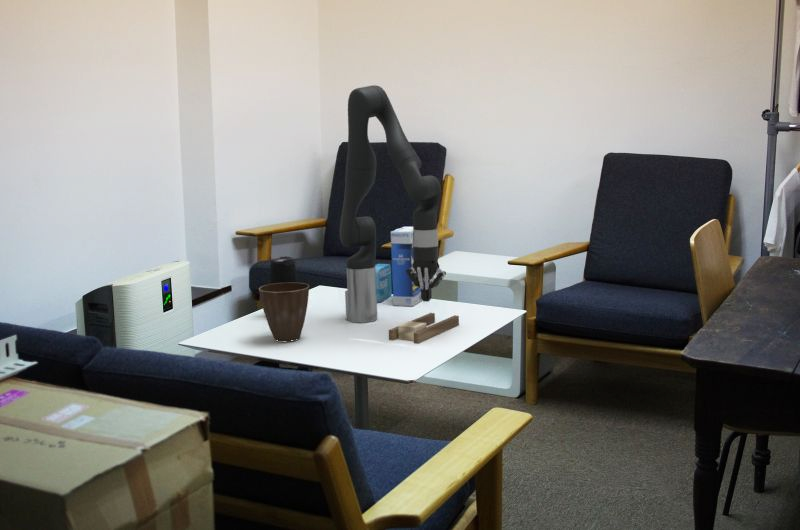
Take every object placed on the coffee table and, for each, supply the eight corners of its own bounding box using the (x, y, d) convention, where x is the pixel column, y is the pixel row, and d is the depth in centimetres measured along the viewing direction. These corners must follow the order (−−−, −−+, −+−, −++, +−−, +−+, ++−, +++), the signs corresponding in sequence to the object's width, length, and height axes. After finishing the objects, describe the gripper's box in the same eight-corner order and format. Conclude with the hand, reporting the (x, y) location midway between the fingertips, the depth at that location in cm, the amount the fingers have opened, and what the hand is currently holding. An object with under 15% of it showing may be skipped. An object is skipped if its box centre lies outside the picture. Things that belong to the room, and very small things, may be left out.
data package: (379, 303, 322) (378, 269, 320) (367, 302, 324) (366, 269, 322) (392, 296, 333) (391, 263, 331) (380, 295, 335) (379, 262, 333)
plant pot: (256, 336, 282) (253, 285, 279) (303, 330, 288) (300, 280, 285) (269, 348, 268) (266, 294, 265) (318, 341, 274) (315, 288, 271)
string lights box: (412, 306, 315) (410, 231, 310) (391, 306, 317) (389, 231, 313) (425, 298, 327) (423, 226, 322) (405, 297, 330) (402, 225, 325)
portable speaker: (301, 317, 305) (298, 259, 301) (272, 320, 302) (269, 261, 299) (297, 312, 313) (294, 255, 309) (269, 314, 310) (266, 257, 307)
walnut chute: (389, 342, 270) (388, 330, 270) (430, 324, 290) (430, 312, 289) (418, 345, 265) (418, 333, 264) (459, 327, 285) (458, 315, 284)
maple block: (398, 338, 271) (398, 325, 270) (409, 334, 276) (408, 321, 275) (416, 341, 268) (415, 327, 267) (426, 336, 272) (426, 323, 272)
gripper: (399, 244, 274) (401, 301, 278) (438, 247, 267) (439, 306, 271) (412, 240, 280) (413, 296, 284) (451, 243, 274) (451, 300, 277)
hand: (426, 300), depth 277 cm, fingers closed
